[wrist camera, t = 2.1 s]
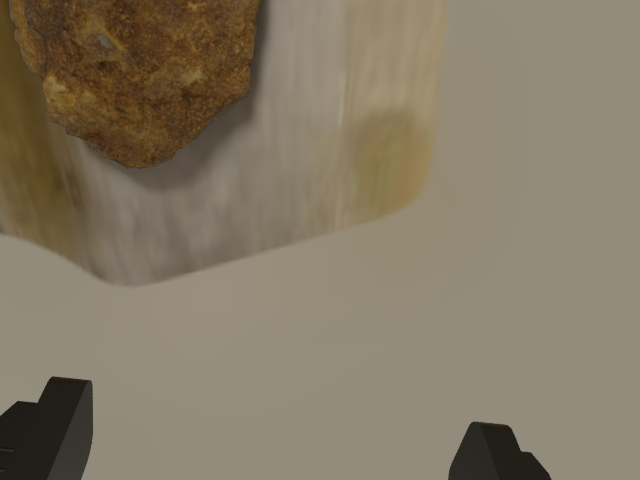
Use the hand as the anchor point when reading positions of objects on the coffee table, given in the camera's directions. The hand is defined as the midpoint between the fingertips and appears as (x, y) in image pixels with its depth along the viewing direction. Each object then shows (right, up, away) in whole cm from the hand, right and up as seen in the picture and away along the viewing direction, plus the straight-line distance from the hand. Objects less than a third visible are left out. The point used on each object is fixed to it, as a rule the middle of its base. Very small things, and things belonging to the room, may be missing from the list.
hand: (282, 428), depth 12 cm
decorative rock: (-8, +15, +16) cm, 23 cm away
